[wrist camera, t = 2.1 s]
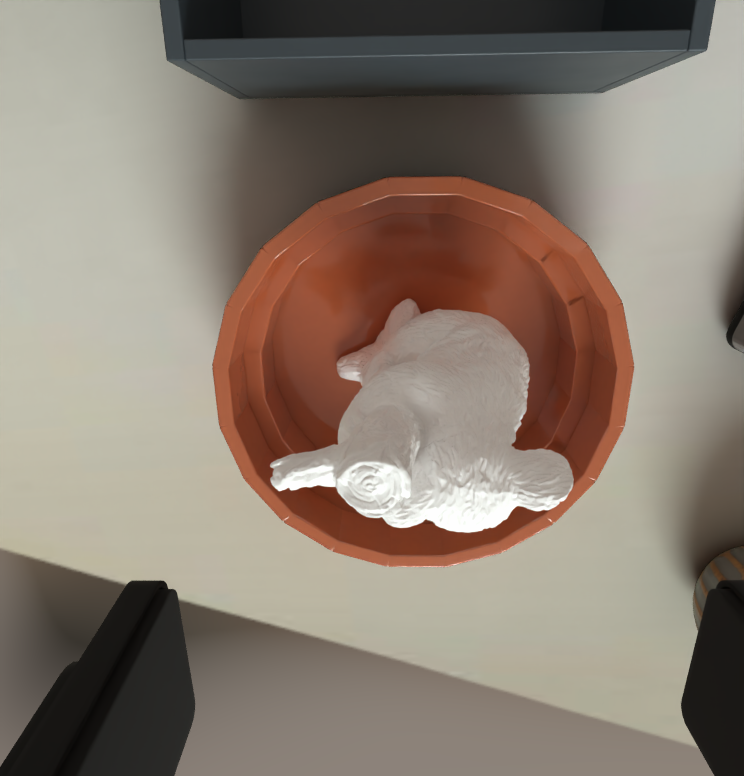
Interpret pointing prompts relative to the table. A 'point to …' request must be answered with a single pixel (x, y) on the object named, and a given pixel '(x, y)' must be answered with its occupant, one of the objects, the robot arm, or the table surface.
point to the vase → (717, 577)
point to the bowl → (430, 292)
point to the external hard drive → (737, 331)
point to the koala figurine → (434, 427)
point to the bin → (429, 45)
